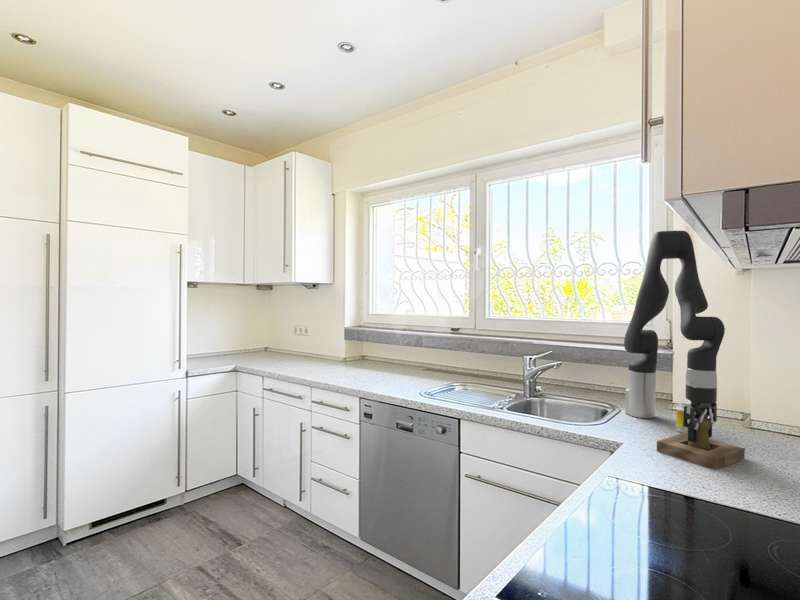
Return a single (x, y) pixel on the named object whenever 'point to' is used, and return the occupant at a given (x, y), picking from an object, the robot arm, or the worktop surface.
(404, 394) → the worktop surface
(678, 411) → the supplement bottle
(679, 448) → the hole plate
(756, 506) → the worktop surface
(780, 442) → the worktop surface
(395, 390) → the worktop surface
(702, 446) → the olive tapered peg
